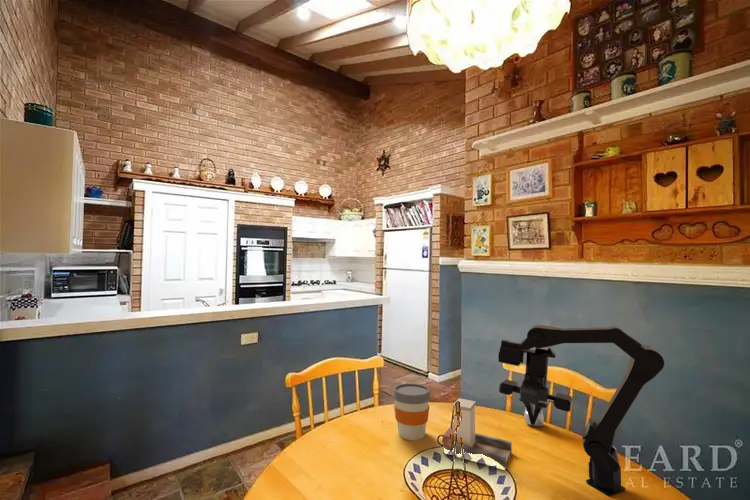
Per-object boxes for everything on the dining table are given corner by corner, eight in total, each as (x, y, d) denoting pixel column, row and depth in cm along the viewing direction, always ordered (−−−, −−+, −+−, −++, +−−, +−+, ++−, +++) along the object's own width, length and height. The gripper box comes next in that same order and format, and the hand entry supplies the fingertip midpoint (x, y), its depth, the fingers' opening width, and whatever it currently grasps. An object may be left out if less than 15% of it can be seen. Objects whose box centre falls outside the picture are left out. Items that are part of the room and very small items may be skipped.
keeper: (475, 442, 113) (475, 401, 114) (470, 451, 107) (470, 408, 108) (459, 438, 116) (458, 398, 116) (453, 446, 110) (452, 404, 111)
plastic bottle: (532, 429, 126) (532, 372, 127) (520, 421, 132) (519, 367, 133) (548, 427, 128) (547, 370, 129) (534, 419, 134) (534, 365, 135)
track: (511, 453, 110) (511, 434, 110) (505, 470, 100) (505, 450, 100) (454, 438, 119) (454, 421, 119) (443, 453, 109) (443, 435, 109)
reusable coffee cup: (430, 444, 115) (430, 396, 116) (391, 441, 117) (391, 394, 118) (430, 427, 127) (430, 384, 128) (395, 424, 129) (395, 382, 130)
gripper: (495, 367, 101) (491, 423, 101) (569, 385, 90) (565, 447, 90) (506, 360, 110) (502, 410, 110) (574, 375, 99) (571, 431, 99)
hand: (532, 424), depth 102 cm, fingers closed
